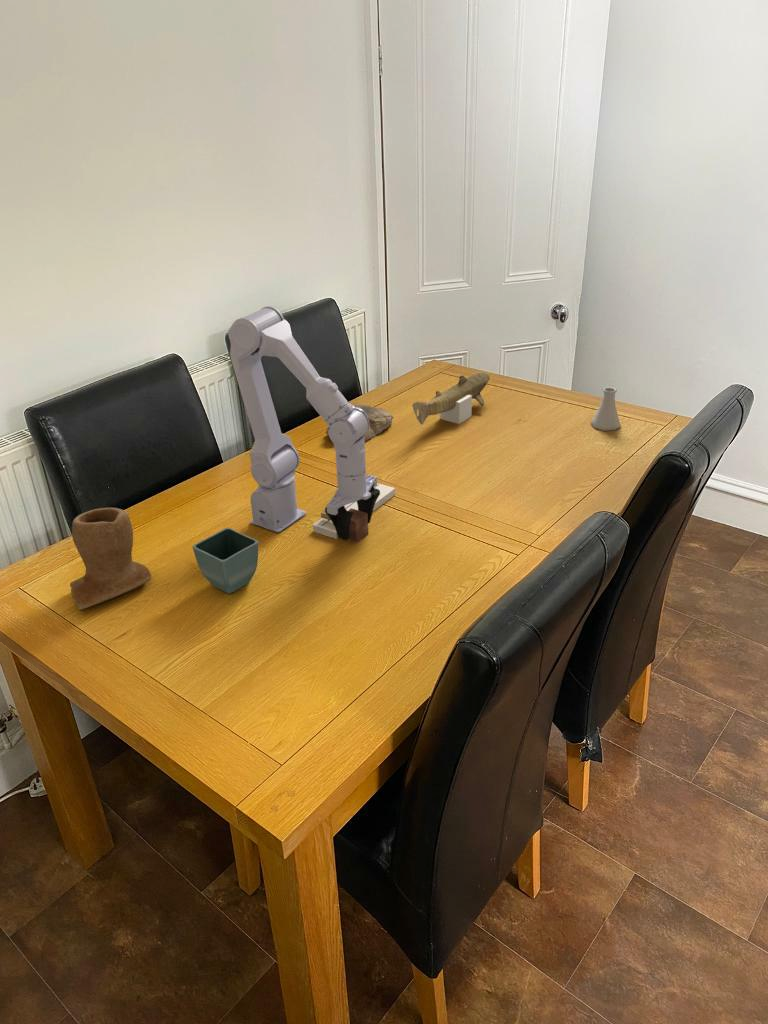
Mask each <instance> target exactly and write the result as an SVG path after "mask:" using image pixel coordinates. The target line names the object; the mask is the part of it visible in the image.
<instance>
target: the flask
mask: <svg viewBox="0 0 768 1024" xmlns="http://www.w3.org/2000/svg"><path fill="white" fill-rule="evenodd" d="M602 391H603V395H602V396H603V397H602V399H601V402H600V405H599V407H598V408H597V410H596V412H595V414H594V415H593V418H592V419H591V421H590V424H591V426H592V427H593V428H595V429H597V430H599V431H603V432H605V431H615V430H618V429H619V428H621V422H620V418H619V415H618V411H617V408H616V407H617V406H616V401H615V400H616V398H615V397H616V393H617V392H618V390H617V389H616V388H615V387H611V386H608V387H604V388H602Z"/></svg>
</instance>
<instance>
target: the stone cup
mask: <svg viewBox="0 0 768 1024" xmlns="http://www.w3.org/2000/svg"><path fill="white" fill-rule="evenodd" d="M71 537H72V541H73V543H74V546H75V548H76V550H77V552H78V554H79V556H80V558H81V561H82V562H83V564H84V568H85V574H84V575H83V576H81V577H79V578H78V579H75V580H72V581H71V582H69V586H70V588H71V589H70V592H71V595H72V600H73V601H74V604H75V606H76V608H77V609H78V610H79V611H81V610H85V609H87V608H90V607H92V606H96V605H97V604H101V603H103V602H105V601H108V600H111V599H113V598H116V597H118V596H121V595H123V594H125V593H128V592H130V591H132V590H134V589H137V588H138V587H141V586H142V585H145V584H146V583H148V582H149V581H150V580H151V579H152V573H151V571H150V570H149V568H148V567H146V565H145V564H142V563H141V562H137V561H133V556H132V553H133V547H134V545H133V544H134V530H133V525H132V522H131V518H130V515H129V514H128V513H127V512H126V511H125V510H124V509H121V508H118V507H103V508H102V507H101V508H100V507H99V508H95V509H91V510H88V511H86V512H85V511H84V512H82V513H80V514H78V515H77V516H76V517H75V518H74V519H73V521H72V524H71Z"/></svg>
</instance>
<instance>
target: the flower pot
mask: <svg viewBox="0 0 768 1024" xmlns="http://www.w3.org/2000/svg"><path fill="white" fill-rule="evenodd" d="M191 548H192V550H193V553H194V557H195V560H196V562H197V566H198V568H199V572H201V574H202V575H203V577H204V579H206V580H207V581H208V582H209V583H210V585H212V586H213V587H215V588H217V589H220V591H223V592H225V593H226V594H233V593H234V592H236V591H237V590H239V589H241V588H242V587H244V586H246V585H247V584H249V583H250V582H251V580H252V579H253V577H254V575H255V573H256V571H257V568H258V564H259V563H258V562H259V540H257V539H255V538H253V537H251V536H248V535H246V534H244V533H241V532H239V531H237V530H235V529H233V528H230V527H226V528H225V527H224V528H223V529H221V530H219V531H218V532H216V533H214V534H211V535H210V536H208V537H206V538H204V539H202V540H201V541H198V542H197V543H195V544H193V545H192V547H191Z"/></svg>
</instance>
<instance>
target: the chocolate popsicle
mask: <svg viewBox="0 0 768 1024" xmlns="http://www.w3.org/2000/svg"><path fill="white" fill-rule="evenodd" d="M348 511H349V512H353V515H352V517H351V521H350V527H349V539H348V540H347V541H350V542H352V543H356V544H358V543H359V542H360V541H362V540H363V539H365V538H366V537H367V536H368V535H369V523H368V514H367V513H365V512H362V511H359V510H355V509H352V508H351V509H350V510H348ZM321 518H324V519H327V520H330V521H331V519H330V518H329V517H328V515H327V514H326V513H325V509H324V510H322V511H320V519H321Z"/></svg>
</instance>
